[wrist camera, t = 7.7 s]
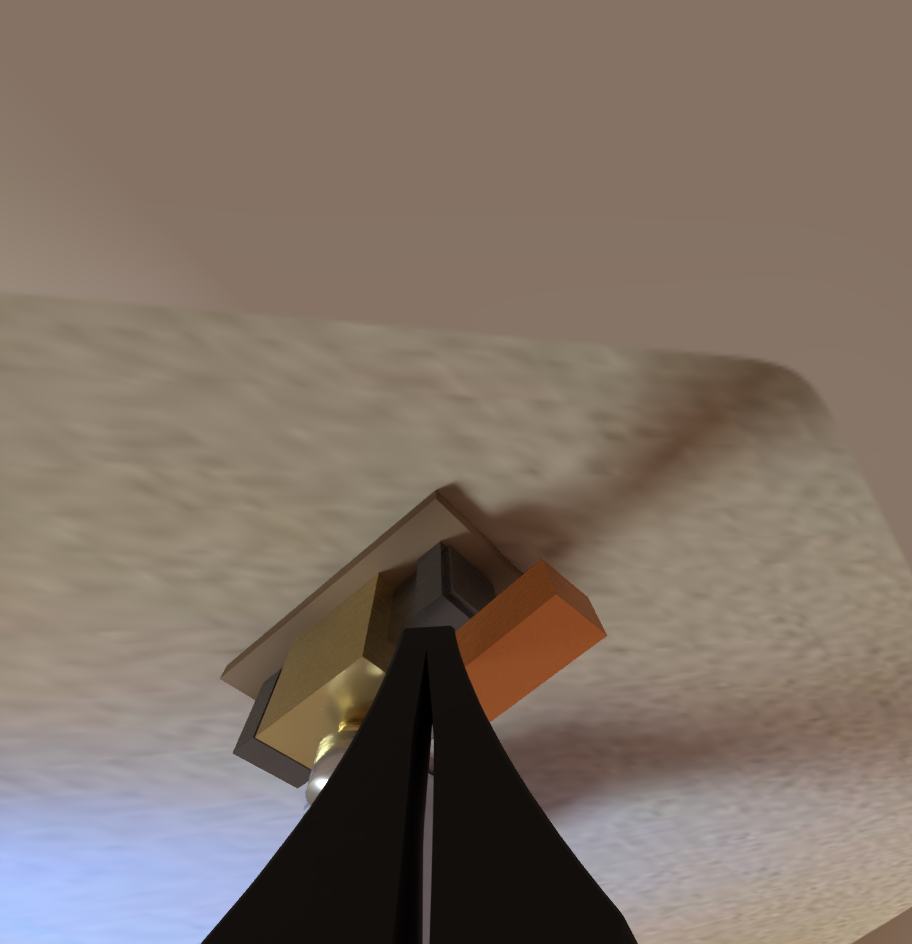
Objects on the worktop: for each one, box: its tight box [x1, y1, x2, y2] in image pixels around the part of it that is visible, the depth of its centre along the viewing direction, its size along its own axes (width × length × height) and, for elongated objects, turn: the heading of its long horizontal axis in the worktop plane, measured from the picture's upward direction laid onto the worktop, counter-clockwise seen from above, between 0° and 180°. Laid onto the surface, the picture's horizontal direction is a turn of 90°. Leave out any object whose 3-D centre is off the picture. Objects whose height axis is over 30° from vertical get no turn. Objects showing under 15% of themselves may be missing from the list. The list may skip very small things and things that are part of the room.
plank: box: [220, 490, 523, 700], centre depth 21 cm, size 7×15×1 cm, turn 132°
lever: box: [306, 559, 607, 805], centre depth 14 cm, size 12×3×2 cm, turn 136°
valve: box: [233, 541, 496, 788], centre depth 18 cm, size 5×13×5 cm, turn 132°
